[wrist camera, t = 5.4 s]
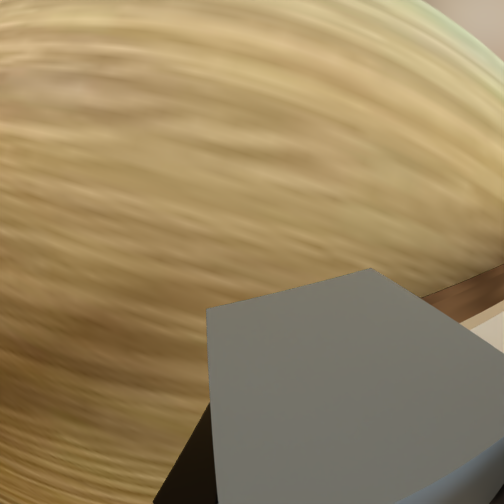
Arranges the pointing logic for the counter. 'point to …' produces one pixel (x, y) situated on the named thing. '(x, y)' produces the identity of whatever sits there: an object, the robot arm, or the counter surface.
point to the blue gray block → (352, 399)
